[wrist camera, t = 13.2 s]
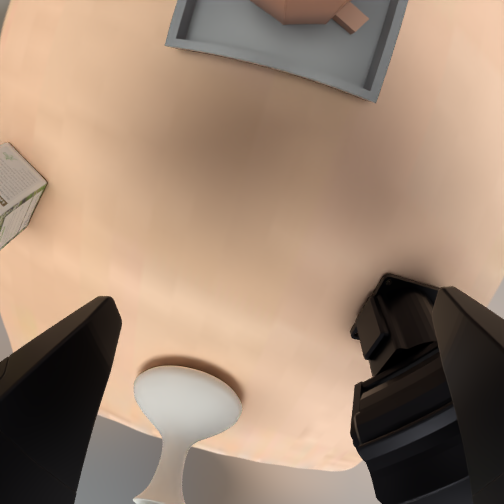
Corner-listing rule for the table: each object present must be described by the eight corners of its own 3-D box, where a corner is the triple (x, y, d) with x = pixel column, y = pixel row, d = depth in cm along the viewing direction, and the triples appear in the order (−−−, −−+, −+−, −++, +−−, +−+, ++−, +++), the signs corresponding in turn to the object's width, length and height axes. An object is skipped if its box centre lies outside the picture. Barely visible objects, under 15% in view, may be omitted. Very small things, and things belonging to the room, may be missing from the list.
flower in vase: (160, 414, 35) (113, 595, 14) (121, 353, 30) (36, 579, 8) (266, 417, 33) (248, 624, 12) (249, 352, 28) (213, 644, 6)
